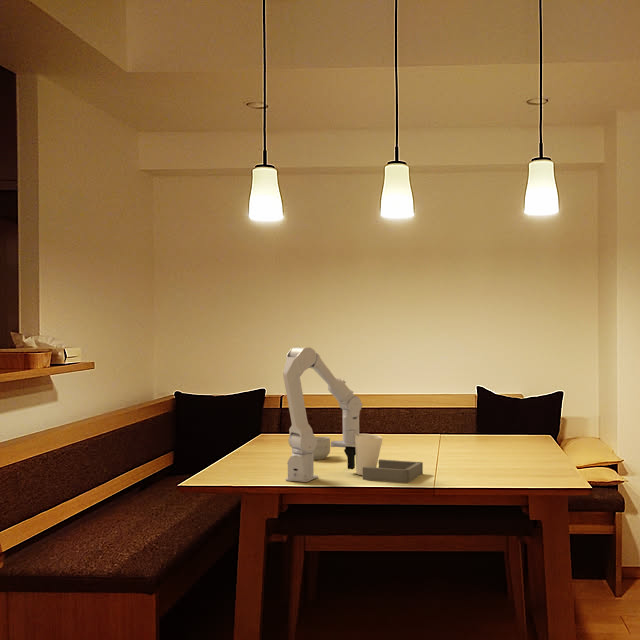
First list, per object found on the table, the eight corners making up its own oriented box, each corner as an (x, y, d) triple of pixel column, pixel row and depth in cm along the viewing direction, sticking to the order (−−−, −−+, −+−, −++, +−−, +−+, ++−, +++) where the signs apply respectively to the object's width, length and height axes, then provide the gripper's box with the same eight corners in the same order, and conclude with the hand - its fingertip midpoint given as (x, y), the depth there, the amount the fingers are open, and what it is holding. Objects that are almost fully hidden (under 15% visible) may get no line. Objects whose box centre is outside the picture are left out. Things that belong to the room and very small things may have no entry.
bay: (407, 482, 268) (407, 470, 268) (362, 479, 275) (362, 467, 275) (422, 473, 284) (422, 462, 284) (380, 470, 290) (380, 459, 290)
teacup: (317, 462, 309) (317, 440, 309) (296, 459, 316) (296, 438, 316) (341, 457, 319) (341, 436, 319) (320, 454, 327) (319, 434, 327)
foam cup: (366, 470, 290) (369, 433, 289) (384, 475, 283) (388, 438, 282) (346, 471, 284) (349, 434, 283) (364, 477, 277) (368, 439, 276)
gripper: (374, 428, 286) (375, 468, 286) (336, 427, 292) (336, 465, 292) (367, 431, 280) (368, 471, 280) (328, 429, 286) (328, 468, 286)
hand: (351, 468), depth 286 cm, fingers closed, pressing on foam cup
